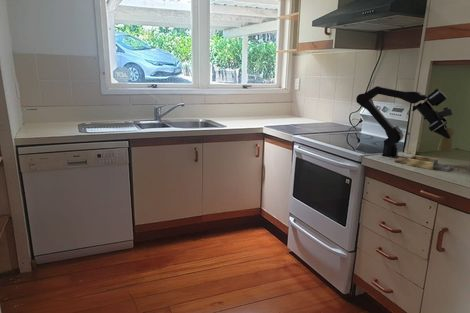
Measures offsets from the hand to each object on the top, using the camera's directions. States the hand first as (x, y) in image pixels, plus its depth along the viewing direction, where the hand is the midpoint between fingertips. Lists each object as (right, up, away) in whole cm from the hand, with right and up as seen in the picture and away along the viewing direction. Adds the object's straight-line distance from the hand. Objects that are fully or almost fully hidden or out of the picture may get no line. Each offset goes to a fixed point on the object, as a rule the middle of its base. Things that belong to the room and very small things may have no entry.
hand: (450, 137), depth 165 cm
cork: (-1, -6, +2) cm, 7 cm away
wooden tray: (-13, -13, 0) cm, 19 cm away
